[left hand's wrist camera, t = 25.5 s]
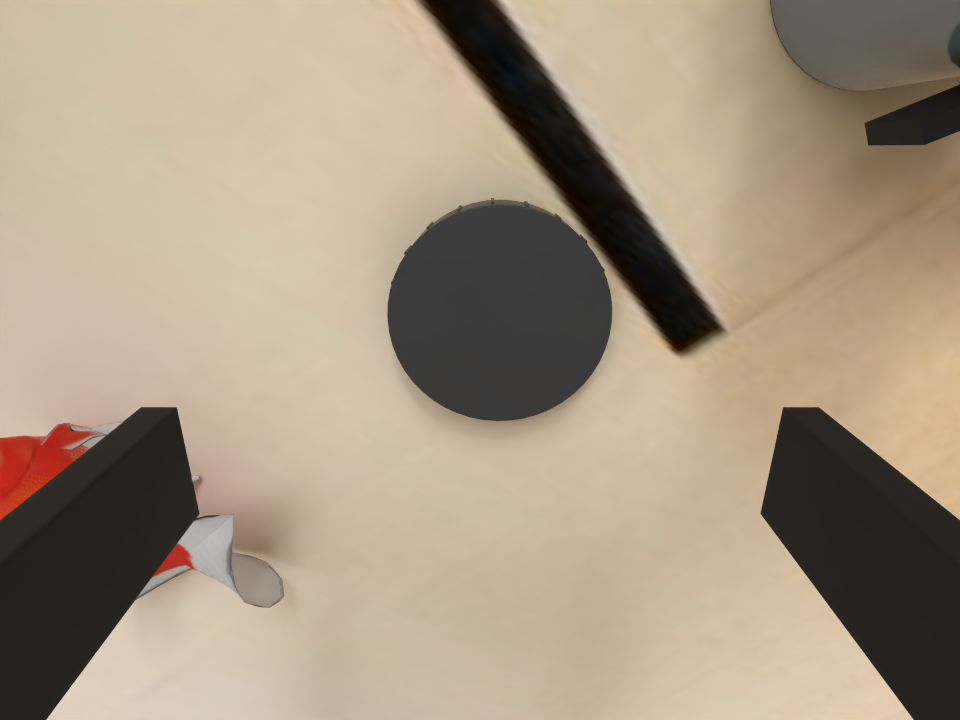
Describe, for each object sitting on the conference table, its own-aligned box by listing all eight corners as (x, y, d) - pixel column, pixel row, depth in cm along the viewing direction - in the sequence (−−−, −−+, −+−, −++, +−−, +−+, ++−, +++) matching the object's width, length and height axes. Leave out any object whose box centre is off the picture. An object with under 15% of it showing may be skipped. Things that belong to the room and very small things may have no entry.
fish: (91, 315, 23) (-81, 572, 16) (354, 481, 33) (307, 678, 27) (-29, 382, 28) (-197, 599, 21) (231, 508, 38) (168, 680, 32)
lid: (638, 345, 28) (650, 361, 25) (461, 433, 29) (458, 456, 27) (544, 155, 25) (549, 156, 23) (354, 267, 27) (341, 277, 24)
